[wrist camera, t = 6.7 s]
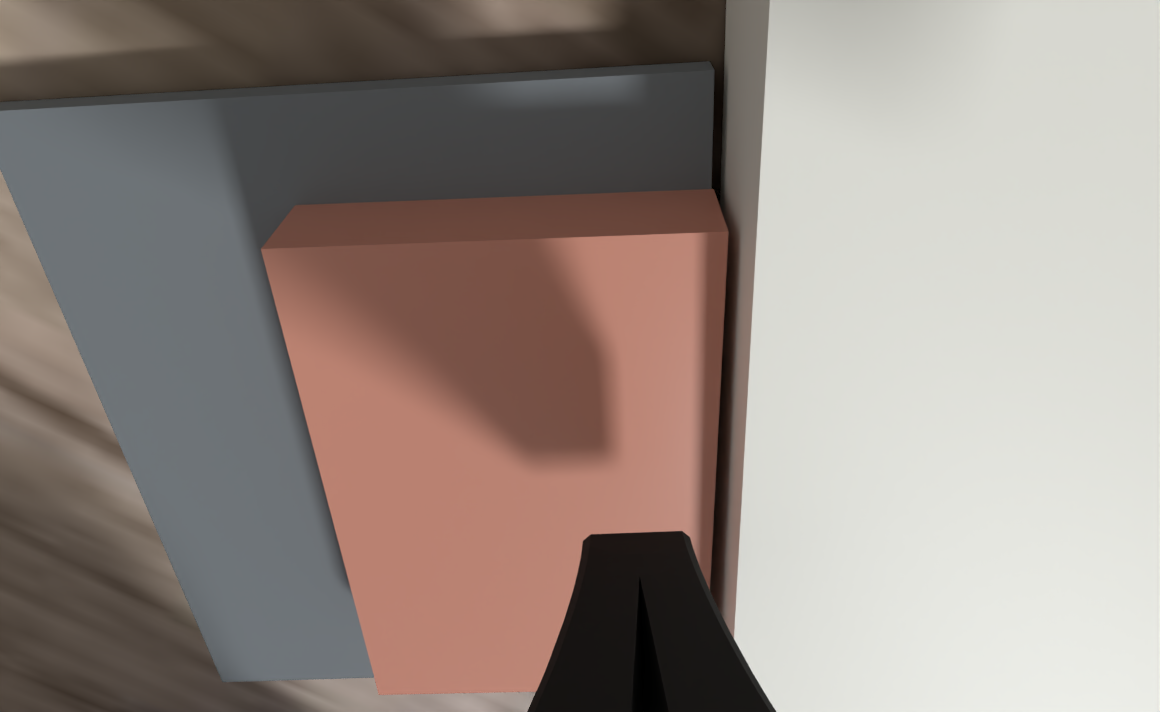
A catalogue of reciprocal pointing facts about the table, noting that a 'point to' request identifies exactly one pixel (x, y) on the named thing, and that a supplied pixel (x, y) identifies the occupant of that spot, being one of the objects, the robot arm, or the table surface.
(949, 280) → the white rectangular block
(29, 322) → the table surface
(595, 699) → the robot arm
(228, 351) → the mat
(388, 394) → the pink rubber eraser
